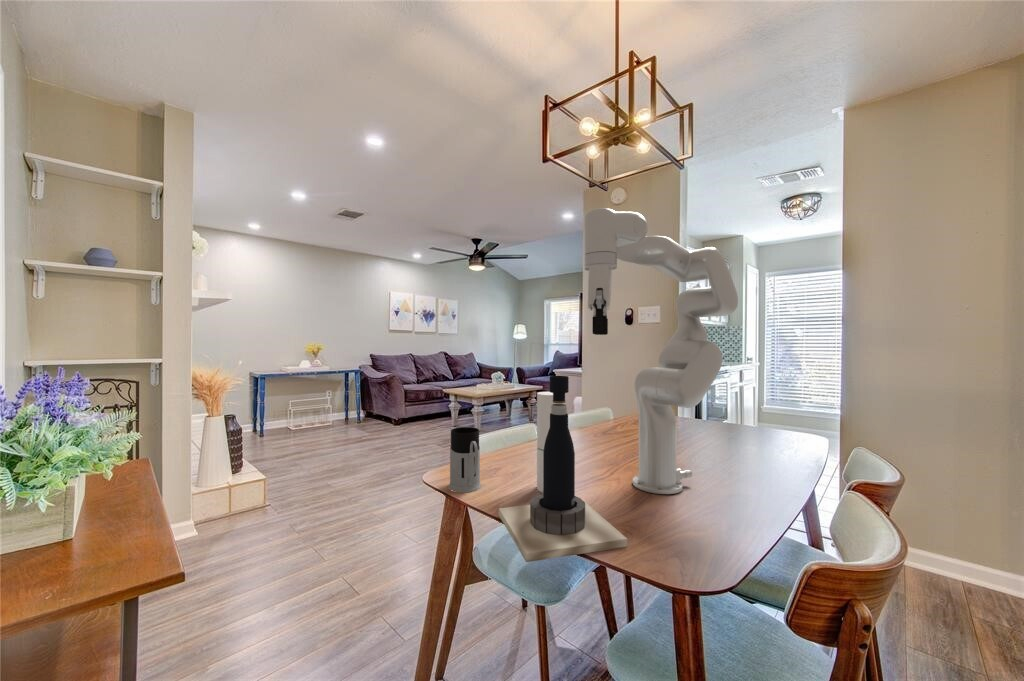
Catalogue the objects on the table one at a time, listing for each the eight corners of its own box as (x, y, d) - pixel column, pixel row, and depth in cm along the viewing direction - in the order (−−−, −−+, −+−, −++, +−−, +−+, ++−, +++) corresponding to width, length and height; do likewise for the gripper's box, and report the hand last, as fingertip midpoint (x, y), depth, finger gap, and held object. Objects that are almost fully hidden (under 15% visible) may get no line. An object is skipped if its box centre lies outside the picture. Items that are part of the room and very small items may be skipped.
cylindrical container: (563, 494, 103) (563, 395, 103) (535, 492, 104) (535, 394, 104) (565, 484, 110) (565, 391, 110) (539, 483, 111) (539, 391, 111)
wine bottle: (540, 516, 87) (541, 375, 87) (570, 514, 88) (570, 374, 87) (546, 530, 81) (546, 378, 80) (578, 528, 81) (578, 377, 81)
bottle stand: (581, 505, 96) (581, 481, 96) (627, 546, 77) (627, 517, 77) (498, 515, 91) (498, 490, 91) (526, 562, 72) (526, 530, 72)
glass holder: (475, 479, 114) (475, 425, 114) (493, 497, 101) (493, 436, 101) (444, 483, 111) (444, 428, 111) (459, 502, 98) (459, 440, 98)
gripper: (587, 269, 107) (586, 334, 107) (581, 256, 90) (581, 334, 90) (616, 268, 105) (616, 334, 105) (616, 254, 88) (616, 333, 88)
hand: (600, 334), depth 98 cm, fingers open, 9 cm apart
